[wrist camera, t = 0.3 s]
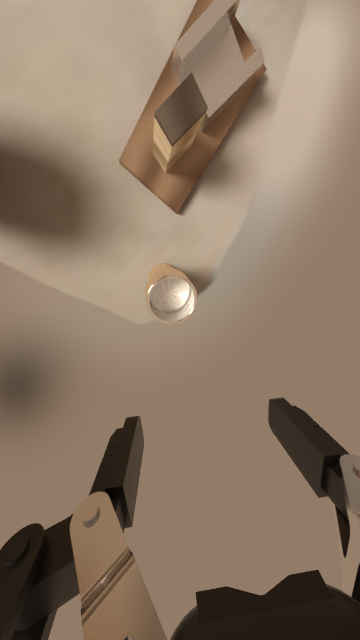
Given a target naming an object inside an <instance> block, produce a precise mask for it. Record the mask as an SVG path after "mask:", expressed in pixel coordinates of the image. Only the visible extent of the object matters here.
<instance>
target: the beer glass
mask: <svg viewBox="0 0 360 640" xmlns="http://www.w3.org/2000/svg"><path fill="white" fill-rule="evenodd" d="M145 294H146V301H147V306H148V309H149V311H150V313H151V314H152V316H153V317H154V318H156V319H157V320H158V321H160V322H163V323H167V324H176V323H179V322H182V321H184V320H186V319H187V318H188V317H190V315H191V314H192V313H193V312H194V310H195V308H196V305H197V292H196V289H195V287H194V285H193V284H192V283H191V281H190V280H189V279H188V277H187V276H186V275H185V274H184V273H182V272H181V271H179V270H177V269H175V268H173V267H172V266H171V265H169V264H166V263H161V264H157V265H155V266H154V267H153V268H152V269H151V270H150V272H149V277H148V281H147V284H146V289H145Z"/></svg>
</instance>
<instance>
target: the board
mask: <svg viewBox="0 0 360 640" xmlns="http://www.w3.org/2000/svg"><path fill="white" fill-rule="evenodd" d="M213 1H214V0H197V2H196V4H195V6H194V8H193V10H192V12H191V14H190V16H189V18H188V20H187V22H186V24H185V26H184V28H183V31H182V33H181V35H180V37H179V39H180V38H181V37H182V36H183V35H184V34H185V33H186V31H187V30H188V29H189V28H190V27H191V26H192V25H193V24H194V22H195V21H196V20H197V19H198V18H199V17H200V16H201V15H202V13H203V12H204V11H205V10H206V9H207V8H208V7H209V6H210V4H211V3H212V2H213ZM231 25H232V28H233V31H234V34H235V36H236V39H237V42H238V45H239V48H240V51H241V53H242V56H243V59H244V62H246V61H247V60H248V59H249V58H250V57H251V56H252V55H253V54H254V53H255V52H256V50H255V49H254V47H253V45H252V44H251V42H250V40H249V39H248V37H247V35H246V34H245V32H244V30H243V28H242V27H241V25H240V23H239V22H238V20H237V18H236V17H235V16H234V18H233V21H232V24H231ZM179 39H178V40H179ZM177 42H178V41H177ZM173 51H174V49H173ZM173 51H172V53H171V55H170V57H169V59H168V61H167V63H166V65H165V67H164V69H163V71H162V73H161V76H160V78H159V80H158V82H157V84H156V86H155V88H154V90H153V92H152V94H151V96H150V98H149V100H148V102H147V104H146V106H145V108H144V110H143V112H142V114H141V116H140V119H139V121H138V123H137V125H136V127H135V129H134V131H133V133H132V135H131V137H130V139H129V141H128V143H127V145H126V147H125V149H124V151H123V153H122V155H121V157H120V159H119V162H120V164H121V165H122V166H123V167H124V168H125V169H127V170H128V171H129V172H130V173H131V174H132V175H133V176H134V177H136V178H137V179H138V180H139V181H140V182H141V183H142V184H144V185H145V186H146V187H147V188H148V189H149V190H150V191H151V192H153V193H154V194H155V195H156V196H157V197H158V198H159V199H160V200H162V201H163V202H164V203H165V204H166V205H167V206H168V207H170V208H171V209H172V210H173V211H174V212H175V213H176V214H177V213H178V211H179V209H180V208H181V206H182V205H183V203H184V201H185V200H186V198H187V196H188V195H189V193H190V192H191V190H192V188H193V187H194V185H195V184H196V182H197V180H198V179H199V177H200V175H201V174H202V172H203V171H204V169H205V167H206V166H207V164H208V163H209V161H210V159H211V158H212V156H213V154H214V153H215V151H216V150H217V148H218V146H219V145H220V143H221V142H222V140H223V138H224V137H225V135H226V133H227V132H228V130H229V129H230V127H231V125H232V124H233V122H234V121H235V119H236V117H237V116H238V114H239V112H240V111H241V109H242V108H243V106H244V104H245V103H246V101H247V100H248V98H249V96H250V95H251V93H252V92H253V90H254V88H255V87H256V85H257V83H258V82H259V80H260V79H261V77H262V75H263V74H264V72H265V71H266V67H265V66H264V64H263V65H262V66H261V68H260V70H259V71H258V73H257V74H256V76H255V77H254V79H253V80H252V82H251V84H250V85H249V86H248V87H247V88H246V89H245V90H244V91H243V92H242V93H241V94H240V95H239V96H238V97H237V98H236V99H235V100H234V101H233V102H232V103H231V104H230V105H229V106H228V107H227V108H226V109H225V110H224V111H223V112H221V113H220V114H219V115H218V116H217V117H216V118H215V119H214V120H213V121H212V122H211V123H210V124H209V125H208V126H207V127H206V128H205V129H204V130H203V131H202V132H201V130H200V128H199V129H198V131H197V134H196V136H195V138H194V140H193V143H192V145H191V147H190V149H189V150H188V151H187V152H186V153H185V154H184V155H183V156H182V157H181V158H180V159H179V160H178V161H177V162H176V163H175V164H174V165H173V166H172V167H171V168H170V169H169V170H168V171H167V172H166V173H165V171H164V170H163V168H162V167H161V165H160V164H159V162H158V160H157V159H156V157H155V156H154V154H153V134H154V114H155V111H156V110H157V109H158V108H159V107H160V106H161V104H162V103H163V102H164V101H165V100H166V99H167V98H168V97H169V96H170V95H171V94H172V93H173V92H174V91H175V89H176V88H177V87H178V84H177V82H176V80H175V78H174V76H173V74H172V72H171V66H172V58H173Z"/></svg>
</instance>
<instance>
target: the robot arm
mask: <svg viewBox="0 0 360 640" xmlns="http://www.w3.org/2000/svg"><path fill="white" fill-rule="evenodd" d="M268 420H269V425H270V427H271V430H272V431H273V433H274V434H275V436H276V437H277V439H278V440H279V442H280V443H281V445H282V446H283V447H284V449H285V450H286V452H287V453H288V455H289V456H290V457H291V459H292V460H293V462H294V463H295V464H296V466H297V467H298V469H299V470H300V472H301V473H302V475H303V476H304V477H305V479H306V480H307V482H308V483H309V484H310V486H311V487H312V489H313V490H314V492H315V493H316V494H317V496H318V497H319V498H320V497H326V496H329V498H330V499H331V500H332V502H333V513H334V519H335V525H336V532H337V538H338V544H339V551H340V557H341V564H342V588H343V591H341V590H339V589H337V588H335V587H332V586H330V585H327V584H325V582H324V580H323V578H322V576H321V574H320V573H319V570H314V571H309V572H303V573H297V574H292V575H288V576H287V577H286V578H285V579H284V580H282V581H281V582H280V583H279V584H277V585H276V586H275V587H274V588H272V589H271V590H270V591H269V592H267V593H266V594H265V595H256V594H253V593H249V592H245V591H242V590H238V589H234V588H230V587H221V588H216V589H210V590H205V591H199V592H196V600H197V606H196V607H195V608H193V609H192V610H191V611H190V612H189V613H188V614H187V615H186V616H185V617H184V618H183V619H182V621H181V622H180V624H179V625H178V627H177V628H176V630H175V632H174V633H173V635H172V637H171V639H170V640H360V457H358V456H355V455H351V454H349V453H348V452H347V451H346V450H345V449H344V448H343V447H342V446H341V445H339V444H338V443H337V442H336V441H335V440H334V439H333V438H332V437H331V436H330V435H329V434H328V433H327V432H326V431H325V430H324V429H323V428H322V427H320V426H319V425H318V424H317V423H316V422H315V421H313V419H312V418H311V417H310V416H309V415H308V414H307V413H306V412H305V411H303V410H301V409H299V408H298V407H296V406H291V405H290V404H289V403H288V402H287V401H286V400H285V399H284V398H276V399H270V400H269V417H268ZM143 448H144V437H143V431H142V425H141V419H140V416H134V417H128V418H126V420H125V423H124V426H123V428H120V429H117V430H116V431H115V432H114V434H113V435H112V436H111V437H110V440H109V443H108V445H107V449H106V451H105V454H104V457H103V459H102V462H101V464H100V467H99V470H98V472H97V475H96V478H95V481H94V483H93V486H92V489H91V492H90V494H89V496H88V497H87V498H85V499H84V500H83V501H82V502H81V503H80V505H79V506H78V507H77V509H76V511H75V512H74V514H72V515H71V516H70V517H68V518H66V519H65V520H63V521H61V522H59V523H57V524H55V525H53V526H51V527H50V528H48V529H46V530H44V529H43V526H42V525H40V524H37V523H35V524H30V525H28V526H26V527H24V528H22V529H21V530H20V531H18V532H17V533H16V534H15V535H14V536H12V537H11V538H10V539H9V540H8V541H7V542H6V544H5V545H4V546H3V547H2V549H1V550H0V640H48V638H49V634H50V631H51V628H52V625H53V621H54V618H55V615H56V611H57V609H58V608H59V607H60V606H62V605H63V604H65V603H66V602H68V601H69V600H71V599H72V598H73V597H75V596H76V595H77V594H79V593H80V597H81V604H82V609H81V620H82V628H83V634H84V640H167V638H166V636H165V633H164V631H163V628H162V626H161V623H160V620H159V618H158V616H157V613H156V610H155V608H154V605H153V603H152V600H151V598H150V595H149V593H148V590H147V588H146V585H145V583H144V580H143V577H142V575H141V573H140V570H139V567H138V565H137V562H136V560H135V557H134V555H133V553H132V552H131V551H130V549H129V547H128V544H127V542H126V539H125V536H124V529H125V528H128V527H132V523H133V517H134V510H135V503H136V496H137V489H138V483H139V475H140V468H141V462H142V455H143Z"/></svg>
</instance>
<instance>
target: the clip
mask: <svg viewBox="0 0 360 640" xmlns="http://www.w3.org/2000/svg"><path fill="white" fill-rule="evenodd" d="M239 3H240V0H214V1H213V2H212V3H211V4H210V6H209V7H208V8H207V9H206V10H205V11H204V12H203V13H202V15H201V16H200V17H199V18H198V19H197V20H196V21H195V22H194V24H193V25H192V26H191V27H190V28H189V29H188V30H187V31H186V33H185V34H184V35H183V36H182V37H181V38H180V39H179V40H178V42H177V43H176V44H175V45H174V51H173V58H172V66H171V72H172V74H173V76H174V78H175V80H176V82H177V84H178V86H179V85H180V84H181V83H182V82H183V81H184V80H185V79H186V78H187V77H188V75H189V74H190V73H191V72H192V74H193V76H194V78H195V80H196V82H197V85H198V87H199V89H200V91H201V93H202V95H203V98H204V100H205V102H206V104H207V106H208V109H207V111H206V113H205V116H204V118H203V120H202V122H201V125H200V127H199V128H200V130H201V132H202V131H203V130H204V129H205V128H206V127H207V126H208V125H209V124H210V123H211V122H212V121H213V120H214V119H215V118H216V117H217V116H218V115H219V114H220V113H221V112H223V111H224V110H225V109H226V108H227V107H228V106H229V105H230V104H231V103H232V102H233V101H234V100H235V99H236V98H237V97H238V96H239V95H240V94H241V93H242V92H243V91H244V90H245V89H246V88H247V87H248V86H249V85H250V84H251V82H252V80H253V79H254V77H255V76H256V74H257V73H258V71H259V70H260V68H261V66H262V65H263V63H264V59H263V56H262V53H261V49H260V47H259V48H258V50H257V51H256V52H255V53H254V54H253V55H252V56H251V57H250V58H249V59H248V60H247V61H246V62H244V59H243V56H242V53H241V51H240V48H239V45H238V42H237V39H236V36H235V34H234V31H233V28H232V25H231V24H232V21H233V18H234V16H235V13H236V11H237V8H238V5H239Z"/></svg>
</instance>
